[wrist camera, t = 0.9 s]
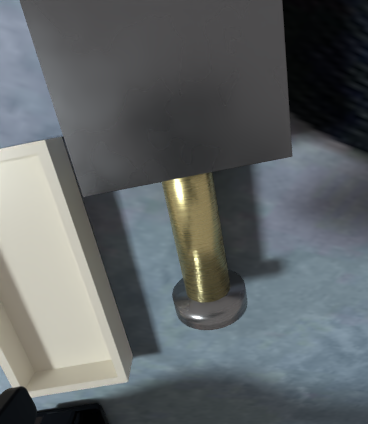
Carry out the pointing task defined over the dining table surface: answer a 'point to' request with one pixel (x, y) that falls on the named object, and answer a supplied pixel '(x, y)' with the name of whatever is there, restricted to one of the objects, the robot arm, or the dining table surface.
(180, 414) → the dining table surface
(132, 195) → the dining table surface
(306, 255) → the dining table surface
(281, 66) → the block
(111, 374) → the tray
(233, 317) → the pin
